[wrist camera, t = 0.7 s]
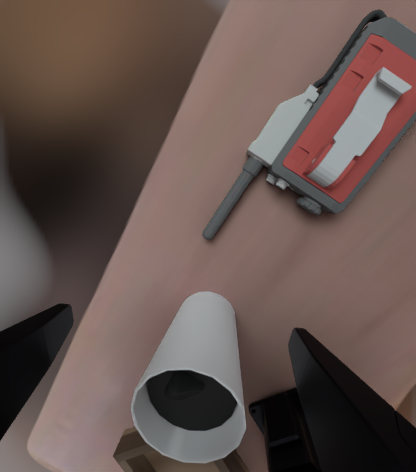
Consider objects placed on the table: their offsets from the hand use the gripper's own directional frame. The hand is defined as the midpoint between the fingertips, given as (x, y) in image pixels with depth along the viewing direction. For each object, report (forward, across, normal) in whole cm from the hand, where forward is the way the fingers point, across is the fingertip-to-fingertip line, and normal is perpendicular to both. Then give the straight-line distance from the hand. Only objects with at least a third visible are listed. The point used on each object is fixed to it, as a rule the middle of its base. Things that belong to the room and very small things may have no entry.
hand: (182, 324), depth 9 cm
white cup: (+11, -2, +9) cm, 14 cm away
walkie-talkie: (+13, -8, -6) cm, 17 cm away
